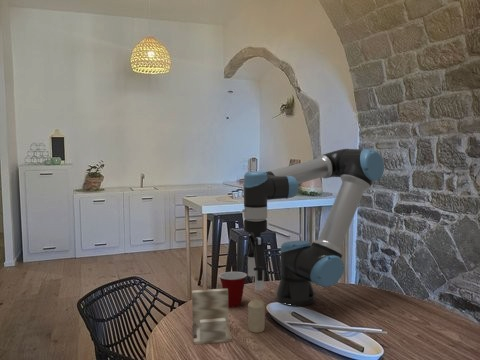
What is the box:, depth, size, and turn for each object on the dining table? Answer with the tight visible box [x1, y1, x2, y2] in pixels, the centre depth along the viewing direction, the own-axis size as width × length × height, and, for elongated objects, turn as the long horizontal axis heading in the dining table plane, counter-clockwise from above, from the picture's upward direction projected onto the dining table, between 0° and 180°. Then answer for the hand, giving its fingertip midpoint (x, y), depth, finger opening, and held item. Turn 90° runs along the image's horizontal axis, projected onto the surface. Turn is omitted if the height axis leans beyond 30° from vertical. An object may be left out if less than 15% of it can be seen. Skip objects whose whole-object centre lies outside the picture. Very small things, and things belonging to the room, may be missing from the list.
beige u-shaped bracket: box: [191, 288, 233, 345], centre depth 134 cm, size 12×12×13 cm
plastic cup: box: [218, 271, 248, 308], centre depth 158 cm, size 11×11×12 cm
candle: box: [247, 298, 266, 334], centre depth 137 cm, size 6×6×10 cm
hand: (255, 282), depth 136 cm, fingers open, 13 cm apart
